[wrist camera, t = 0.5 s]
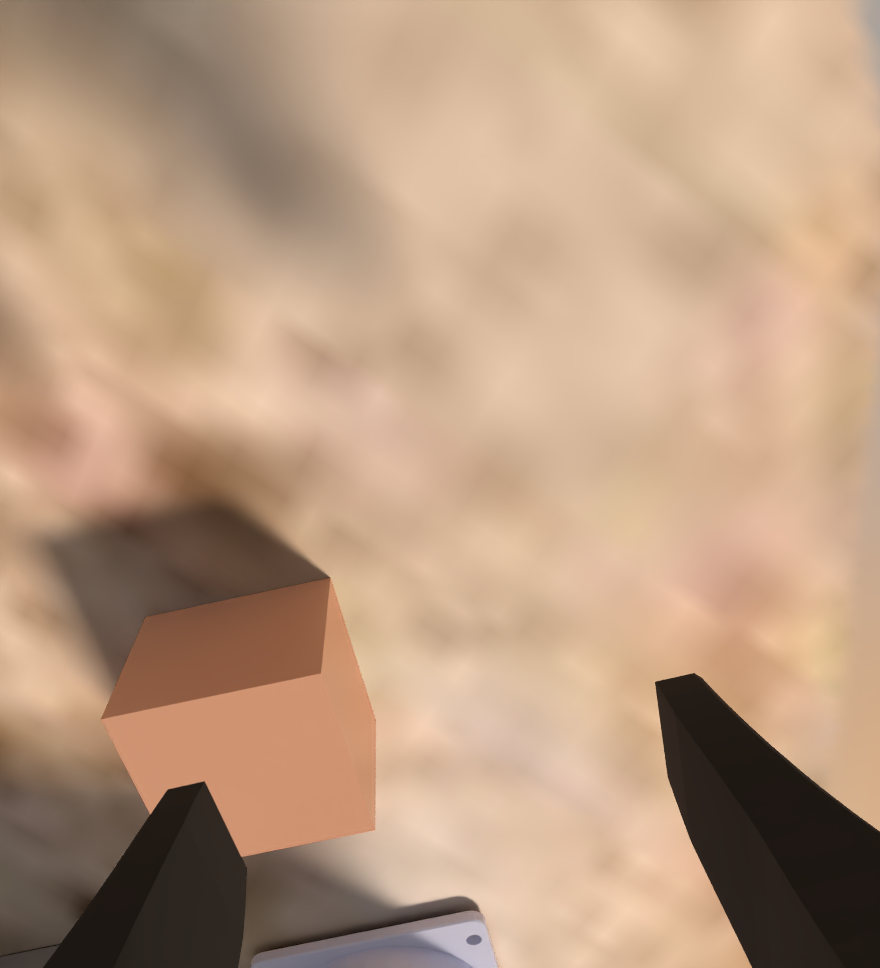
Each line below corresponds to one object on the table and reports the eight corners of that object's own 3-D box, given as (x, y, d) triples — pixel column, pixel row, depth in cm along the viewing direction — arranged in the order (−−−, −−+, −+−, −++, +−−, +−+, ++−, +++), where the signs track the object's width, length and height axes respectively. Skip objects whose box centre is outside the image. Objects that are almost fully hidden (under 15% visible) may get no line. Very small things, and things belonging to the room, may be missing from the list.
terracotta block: (375, 717, 24) (375, 829, 20) (208, 751, 24) (178, 869, 20) (330, 574, 22) (321, 673, 18) (147, 614, 22) (100, 719, 18)
